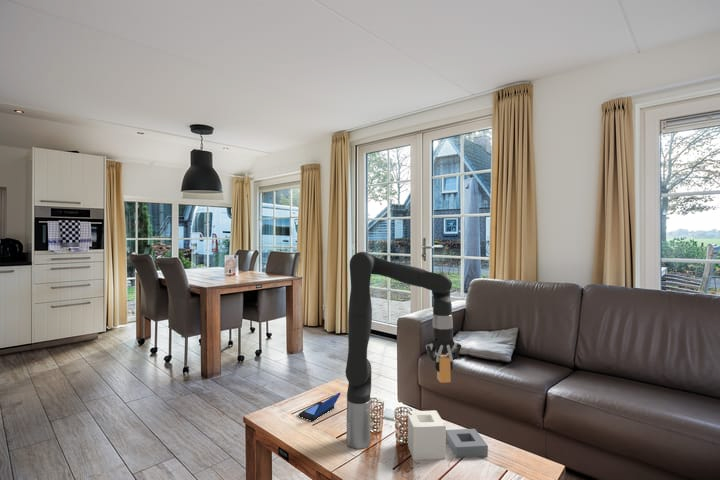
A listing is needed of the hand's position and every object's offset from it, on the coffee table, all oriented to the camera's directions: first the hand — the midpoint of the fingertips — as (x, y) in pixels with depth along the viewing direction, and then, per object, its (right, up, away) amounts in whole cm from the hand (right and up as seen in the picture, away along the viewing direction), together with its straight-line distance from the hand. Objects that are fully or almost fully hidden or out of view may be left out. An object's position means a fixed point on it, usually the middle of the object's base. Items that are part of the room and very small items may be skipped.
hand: (443, 370), depth 139 cm
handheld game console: (-51, -30, +28) cm, 65 cm away
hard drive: (-20, -31, +28) cm, 46 cm away
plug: (0, -4, 0) cm, 4 cm away
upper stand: (-7, -30, 0) cm, 31 cm away
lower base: (+9, -30, +1) cm, 31 cm away
